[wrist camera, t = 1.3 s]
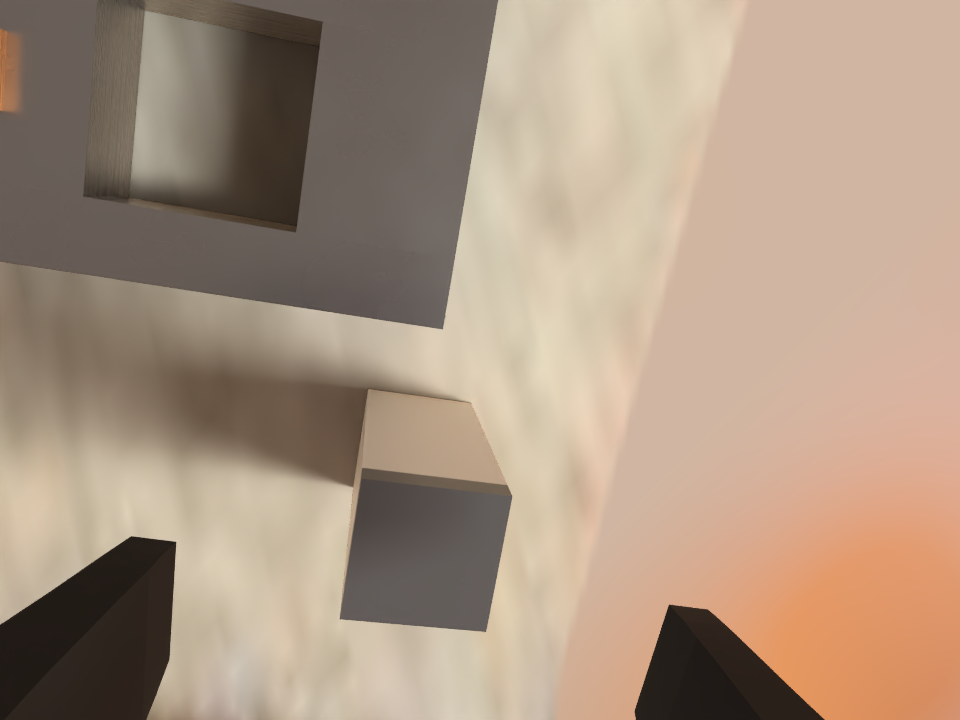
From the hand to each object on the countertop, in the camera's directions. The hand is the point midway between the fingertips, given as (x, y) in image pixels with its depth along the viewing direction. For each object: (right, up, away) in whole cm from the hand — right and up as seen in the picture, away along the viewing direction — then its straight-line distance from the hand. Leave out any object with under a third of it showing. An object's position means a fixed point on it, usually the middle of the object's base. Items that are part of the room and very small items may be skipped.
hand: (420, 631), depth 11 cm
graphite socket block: (-6, +10, +8) cm, 14 cm away
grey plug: (-1, +1, +11) cm, 11 cm away
